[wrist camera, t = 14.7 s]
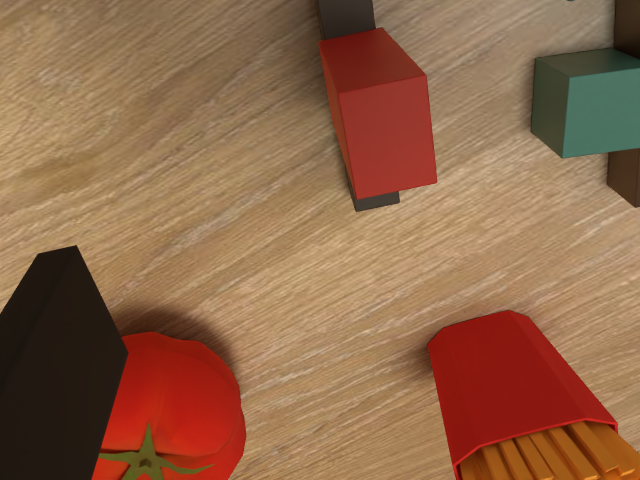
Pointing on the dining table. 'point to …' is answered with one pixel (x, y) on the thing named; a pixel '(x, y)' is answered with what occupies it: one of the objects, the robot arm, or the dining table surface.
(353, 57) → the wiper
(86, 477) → the robot arm
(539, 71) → the cube
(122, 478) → the tomato
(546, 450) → the french fries
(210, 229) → the dining table surface
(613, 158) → the strip
